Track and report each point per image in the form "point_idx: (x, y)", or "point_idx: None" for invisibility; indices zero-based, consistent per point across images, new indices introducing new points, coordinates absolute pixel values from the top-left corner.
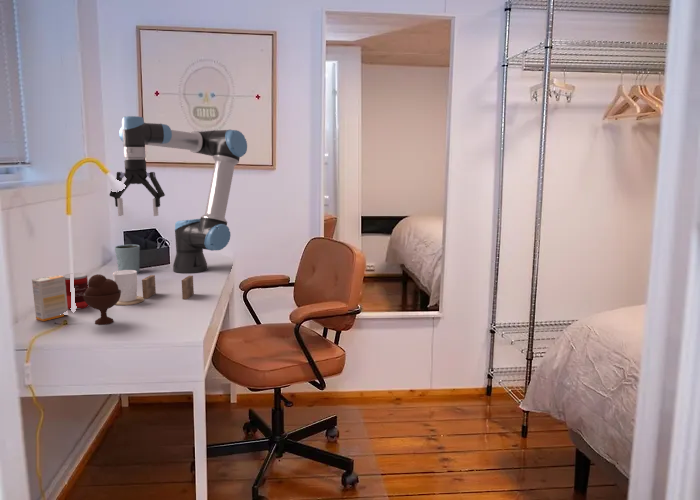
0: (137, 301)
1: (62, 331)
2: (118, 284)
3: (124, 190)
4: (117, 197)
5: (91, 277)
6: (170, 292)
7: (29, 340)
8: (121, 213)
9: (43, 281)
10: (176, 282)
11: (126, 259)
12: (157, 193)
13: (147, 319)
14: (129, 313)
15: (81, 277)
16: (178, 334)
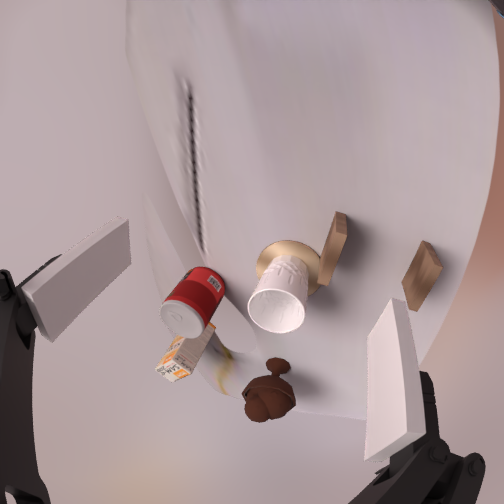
0: (312, 291)
1: (238, 377)
2: (270, 312)
3: (9, 380)
4: (33, 333)
5: (249, 418)
6: (380, 212)
7: (218, 387)
8: (121, 252)
9: (175, 380)
10: (388, 92)
11: None
12: (421, 492)
13: (335, 369)
14: (306, 341)
15: (200, 335)
16: (366, 410)
